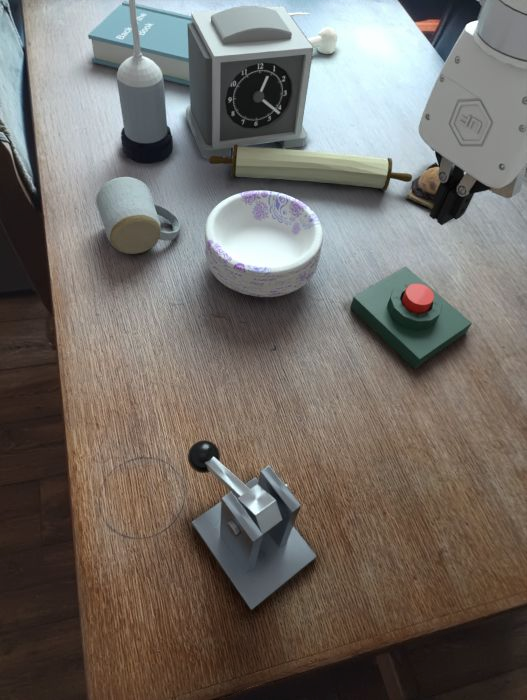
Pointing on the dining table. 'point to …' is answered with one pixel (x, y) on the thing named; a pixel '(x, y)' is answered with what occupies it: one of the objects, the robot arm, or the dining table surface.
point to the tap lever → (236, 485)
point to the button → (417, 298)
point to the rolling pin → (311, 166)
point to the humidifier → (143, 105)
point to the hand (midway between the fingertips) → (444, 215)
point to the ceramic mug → (132, 216)
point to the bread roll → (425, 186)
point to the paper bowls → (263, 243)
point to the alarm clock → (247, 78)
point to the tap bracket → (255, 542)
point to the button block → (409, 318)
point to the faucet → (322, 38)
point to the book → (145, 40)
